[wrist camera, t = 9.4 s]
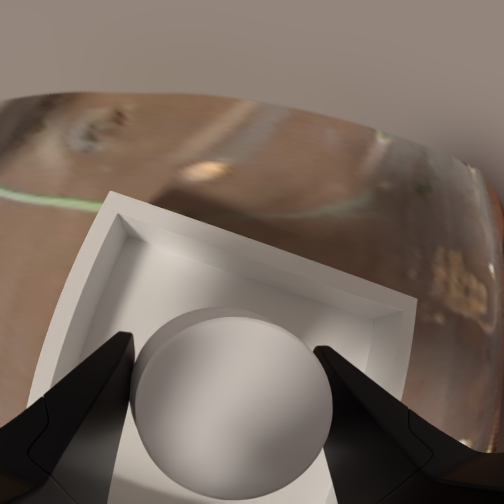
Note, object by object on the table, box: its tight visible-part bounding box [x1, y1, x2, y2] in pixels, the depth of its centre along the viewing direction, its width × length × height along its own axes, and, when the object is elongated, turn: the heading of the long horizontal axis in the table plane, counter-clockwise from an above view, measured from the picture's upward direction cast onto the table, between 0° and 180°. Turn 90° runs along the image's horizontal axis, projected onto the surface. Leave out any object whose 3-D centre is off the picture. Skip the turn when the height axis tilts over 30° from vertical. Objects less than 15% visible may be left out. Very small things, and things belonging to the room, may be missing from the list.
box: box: [27, 191, 417, 504], centre depth 14 cm, size 18×18×4 cm
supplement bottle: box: [129, 307, 333, 500], centre depth 10 cm, size 5×5×10 cm
